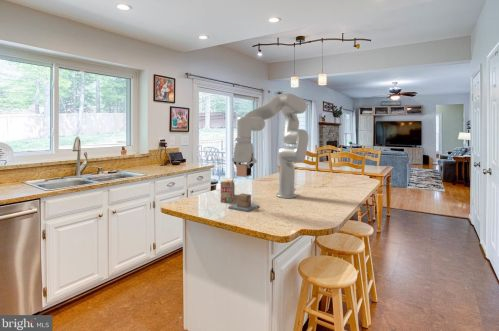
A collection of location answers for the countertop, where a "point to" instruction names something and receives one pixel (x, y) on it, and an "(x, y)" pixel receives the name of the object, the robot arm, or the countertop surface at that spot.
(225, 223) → the countertop surface
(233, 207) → the baseplate
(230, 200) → the stack of blocks
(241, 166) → the salmon pink cube
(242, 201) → the walnut brick
